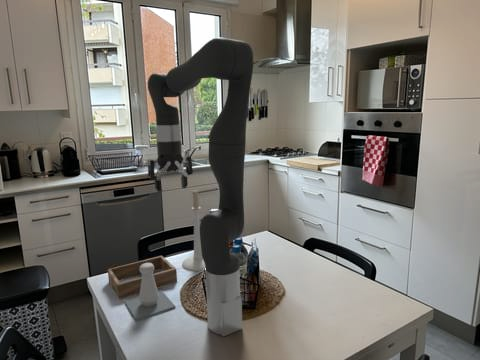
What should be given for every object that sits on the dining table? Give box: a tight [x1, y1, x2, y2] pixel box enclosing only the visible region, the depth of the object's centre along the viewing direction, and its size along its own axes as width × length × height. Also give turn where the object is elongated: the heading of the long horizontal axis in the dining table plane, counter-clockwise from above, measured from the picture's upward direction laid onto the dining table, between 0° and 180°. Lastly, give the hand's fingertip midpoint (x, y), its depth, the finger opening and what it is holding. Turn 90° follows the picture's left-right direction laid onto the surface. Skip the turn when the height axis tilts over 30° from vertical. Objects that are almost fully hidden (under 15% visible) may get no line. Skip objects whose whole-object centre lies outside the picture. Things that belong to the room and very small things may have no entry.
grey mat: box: [124, 289, 176, 322], centre depth 108 cm, size 12×12×1 cm
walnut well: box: [107, 255, 178, 300], centre depth 122 cm, size 14×20×5 cm
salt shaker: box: [138, 263, 159, 307], centre depth 106 cm, size 6×6×13 cm
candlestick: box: [182, 189, 205, 272], centre depth 134 cm, size 13×13×30 cm
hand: (171, 189), depth 112 cm, fingers open, 8 cm apart
